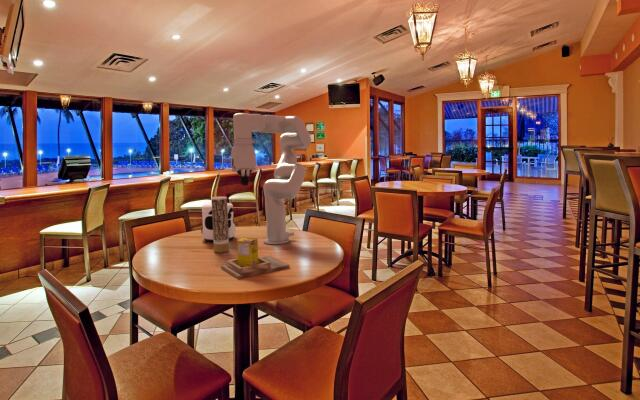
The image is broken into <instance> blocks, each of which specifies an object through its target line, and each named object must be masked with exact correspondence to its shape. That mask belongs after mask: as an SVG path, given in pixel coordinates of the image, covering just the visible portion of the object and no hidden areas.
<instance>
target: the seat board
mask: <svg viewBox="0 0 640 400" xmlns="http://www.w3.org/2000/svg"><path fill="white" fill-rule="evenodd" d="M225 263H226V264H222V265H220V268H221V269H222V270H223V271H225V272H226V273H227V274H229V275H231V276H233V277H234V278H236V279H237V280H241V279H245V278H249V277H253V276H258V275H262V274H267V273H272V272H276V271H277V272H278V271H280V270H284V269H290V264H288V263H286V262H284V261H282V260H279V259H278V258H276V257H273V256H272V255H268V256H262V257H261V256H258V264H256V265H251V266H246V267H240V266H238V258H233V259H227V260H225Z"/></svg>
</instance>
